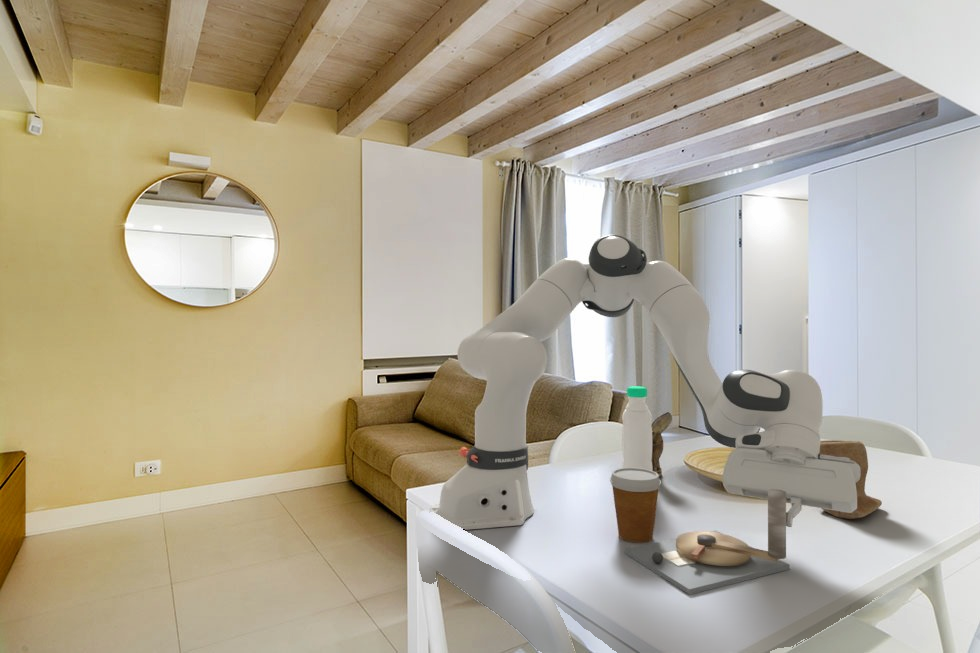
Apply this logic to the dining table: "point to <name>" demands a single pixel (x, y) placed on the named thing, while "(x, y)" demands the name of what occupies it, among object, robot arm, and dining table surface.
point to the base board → (698, 567)
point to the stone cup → (859, 455)
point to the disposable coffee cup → (635, 502)
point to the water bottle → (637, 430)
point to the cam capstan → (733, 550)
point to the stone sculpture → (659, 440)
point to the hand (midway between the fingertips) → (782, 524)
